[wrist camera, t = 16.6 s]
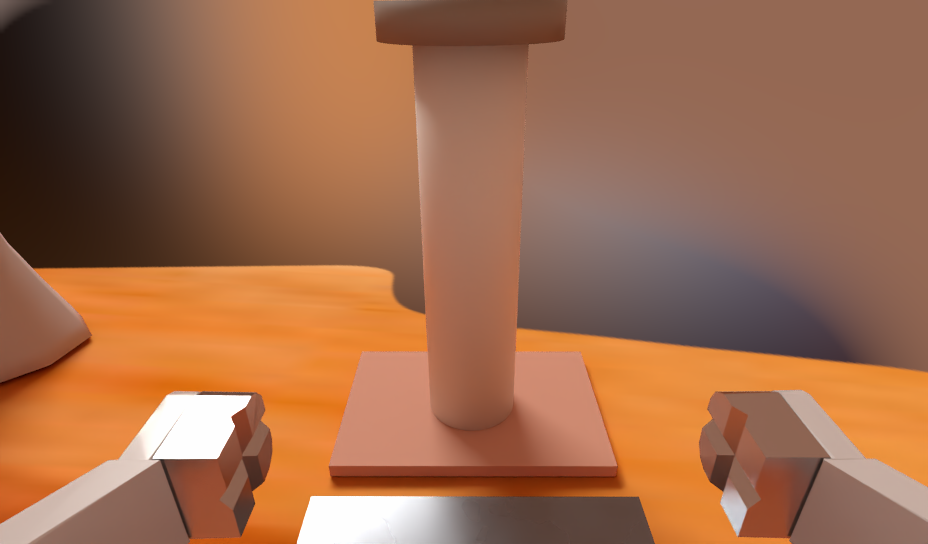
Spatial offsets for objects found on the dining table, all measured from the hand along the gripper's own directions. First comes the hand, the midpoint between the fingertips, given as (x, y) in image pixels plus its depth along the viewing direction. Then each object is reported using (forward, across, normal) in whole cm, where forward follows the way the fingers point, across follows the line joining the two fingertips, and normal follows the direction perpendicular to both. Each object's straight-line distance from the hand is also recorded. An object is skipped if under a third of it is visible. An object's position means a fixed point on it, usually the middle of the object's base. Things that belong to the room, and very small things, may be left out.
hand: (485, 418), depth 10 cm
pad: (+12, 0, +11) cm, 17 cm away
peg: (+12, 0, +10) cm, 16 cm away
